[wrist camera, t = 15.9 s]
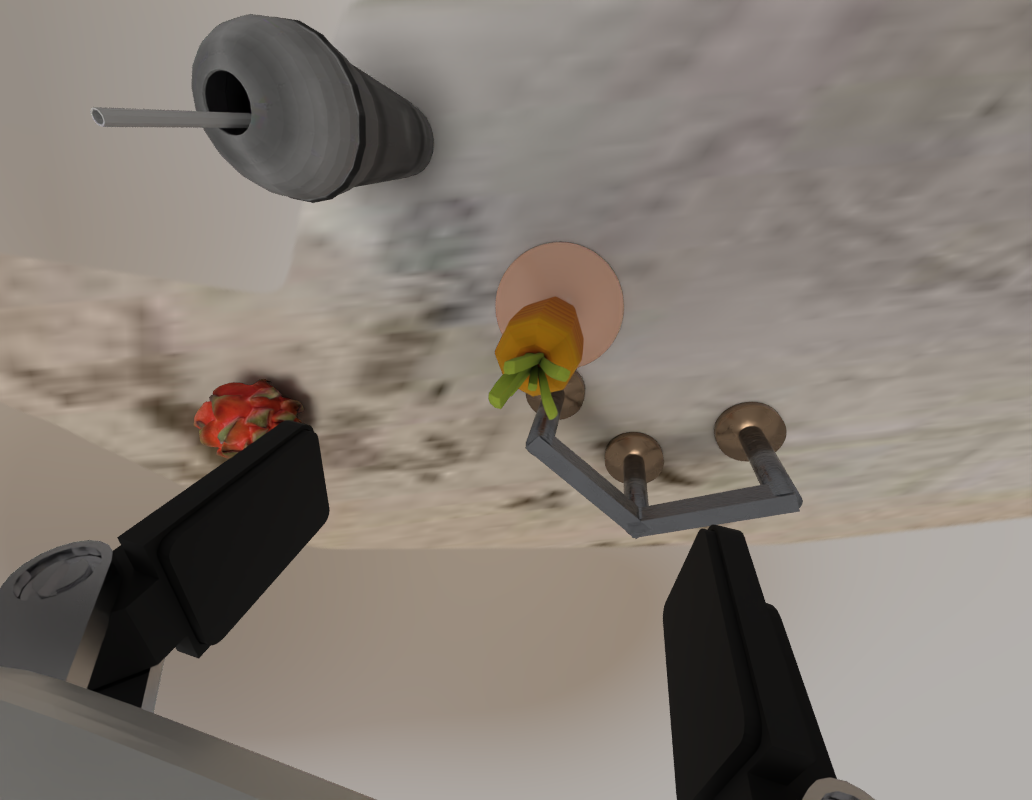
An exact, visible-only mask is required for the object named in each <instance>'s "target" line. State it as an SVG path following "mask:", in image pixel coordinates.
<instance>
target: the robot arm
mask: <svg viewBox="0 0 1032 800" xmlns="http://www.w3.org/2000/svg"><path fill="white" fill-rule="evenodd" d="M328 516H329V503H328V497H327V491H326V484H325V478H324V472H323V465H322V459H321V453H320V446H319V440H318V436H317V434H316V433H315V432H314V431H313V428H312V427H311V426H310V425H307V424H303V423H299V422H295V421H291V420H285V421H283V422H281V423H280V424H278V425H277V426H276V427H274V428H273V429H271V430H270V431H268V432H267V433H266V434H264V435H263V436H261V437H260V438H258V439H257V440H256V441H254V442H253V443H251V444H250V445H248V446H247V447H246V448H244V449H243V450H241V451H240V452H238V453H237V454H236V455H234V456H233V457H231V458H230V459H229V460H227V461H226V462H224V463H223V464H221V465H220V466H219V467H217V468H216V469H214V470H213V471H211V472H210V473H209V474H207V475H206V476H204V477H203V478H201V479H200V480H199V481H197V482H196V483H194V484H193V485H191V486H190V487H189V488H187V489H186V490H184V491H183V492H182V493H180V494H179V495H177V496H176V497H175V498H173V499H172V500H170V501H169V502H167V503H166V504H164V505H163V506H161V507H160V508H159V509H157V510H156V511H154V512H153V513H151V514H150V515H149V516H147V517H146V518H144V519H143V520H142V521H140V522H139V523H137V524H136V525H134V526H133V527H132V528H130V529H129V530H127V531H126V532H125V533H123V534H122V535H120V536H119V537H118V539H119V542H120V543H121V546H119V547H118V548H116V549H115V550H114V551H112V549H111V548H110V546H109V545H108V544H106V543H103V542H101V541H92V540H87V541H79V542H73V543H69V544H66V545H62V546H59V547H56V548H54V549H51V550H49V551H47V552H44V553H42V554H40V555H38V556H36V557H35V558H33V559H31V560H30V561H28V562H26V563H25V564H23V565H22V566H21V567H19V568H18V569H17V570H16V571H15V572H13V573H12V574H11V575H10V576H9V577H8V579H7V580H6V581H5V582H4V583H3V585H2V586H1V588H0V800H376V799H373V798H371V797H368V796H365V795H363V794H360V793H358V792H355V791H353V790H350V789H348V788H345V787H343V786H340V785H338V784H335V783H332V782H330V781H327V780H325V779H322V778H319V777H317V776H314V775H312V774H309V773H307V772H304V771H302V770H299V769H296V768H294V767H291V766H289V765H286V764H284V763H281V762H279V761H276V760H274V759H271V758H268V757H266V756H263V755H261V754H258V753H255V752H253V751H250V750H248V749H245V748H243V747H240V746H237V745H234V744H232V743H229V742H227V741H224V740H222V739H219V738H216V737H214V736H211V735H209V734H206V733H203V732H201V731H198V730H196V729H193V728H190V727H188V726H185V725H183V724H180V723H178V722H175V721H172V720H170V719H167V718H164V717H162V716H159V715H156V714H154V708H155V703H156V698H157V693H158V689H159V684H160V679H161V674H162V670H163V665H164V660H165V657H166V656H167V655H168V654H169V653H170V652H171V651H172V650H173V649H174V648H175V647H176V649H177V651H179V652H182V653H185V654H188V655H190V656H193V657H196V658H200V657H201V656H202V654H203V653H204V652H205V651H206V650H207V649H208V648H209V647H210V646H211V645H215V644H217V643H218V642H220V641H221V640H222V639H223V638H224V637H225V636H226V635H227V634H228V632H229V631H230V630H231V629H232V628H233V627H234V626H235V625H236V623H237V622H238V621H239V620H240V619H241V618H242V617H243V615H244V614H245V613H246V612H247V611H248V610H249V609H250V608H251V606H252V605H253V604H254V603H255V602H256V601H257V600H258V599H259V597H260V596H261V595H262V594H263V593H264V592H265V590H266V589H267V588H268V587H269V586H270V585H271V584H272V583H273V581H274V580H275V579H276V578H277V577H278V576H279V575H280V574H281V572H282V571H283V570H284V569H285V568H286V567H287V566H288V565H289V563H290V562H291V561H292V560H293V559H294V558H295V557H296V555H297V554H298V553H299V552H300V551H301V550H302V548H303V547H304V546H305V545H306V544H307V543H308V542H309V541H310V540H311V538H312V537H313V536H314V535H315V534H316V533H317V532H318V531H319V529H320V528H321V527H322V526H323V525H324V524H325V522H326V520H327V519H328ZM663 627H664V640H665V652H666V667H667V679H668V692H669V705H670V718H671V730H672V744H673V757H674V769H675V783H676V795H677V800H875V799H873V798H872V797H871V796H870V795H869V794H867V793H866V792H865V791H863V790H861V789H860V788H858V787H856V786H854V785H852V784H850V783H848V782H847V781H843V780H838V779H837V778H836V775H835V772H834V769H833V767H832V764H831V761H830V758H829V755H828V752H827V750H826V746H825V744H824V741H823V738H822V735H821V732H820V729H819V726H818V723H817V720H816V717H815V715H814V712H813V709H812V706H811V703H810V700H809V697H808V694H807V692H806V689H805V686H804V683H803V680H802V677H801V674H800V671H799V668H798V666H797V663H796V660H795V657H794V654H793V651H792V648H791V645H790V642H789V640H788V637H787V634H786V631H785V628H784V625H783V622H782V619H781V617H780V615H779V613H778V611H777V609H776V608H775V607H774V606H773V605H771V604H768V603H766V602H765V600H764V596H763V593H762V590H761V587H760V584H759V581H758V577H757V575H756V571H755V568H754V565H753V562H752V559H751V556H750V553H749V550H748V547H747V543H746V540H745V537H744V535H743V533H742V532H741V531H739V530H735V529H731V528H727V527H722V526H718V525H714V524H712V525H711V526H710V527H709V528H708V530H706V529H700V530H699V532H698V534H697V536H696V538H695V541H694V543H693V545H692V547H691V549H690V551H689V553H688V556H687V558H686V560H685V562H684V564H683V567H682V568H681V571H680V573H679V575H678V577H677V579H676V581H675V583H674V586H673V588H672V590H671V592H670V594H669V596H668V598H667V601H666V603H665V606H664V611H663Z"/></svg>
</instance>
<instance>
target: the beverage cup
mask: <svg viewBox="0 0 1032 800" xmlns="http://www.w3.org/2000/svg"><path fill="white" fill-rule="evenodd" d="M192 92H193V97H194V103H195V108H196V111H176V110H149V109H124V108H96V107H93V108H92V109H91V111H90V112H91V115H92V118H93V120H94V121H95V122H96V123H97V124H98V125H99V126H102V127H202V128H204V131H205V132H206V134H207V135H208V137H209V138H210V140H211V141H212V143H213V144H214V146H215V148H216V149H217V150H218V152H219V153H220V154H221V156H222V157H223V158H224V159H225V160H226V161H227V162H229V163H230V164H231V165H232V166H233V167H234V168H235V169H236V170H237V171H238V172H239V173H240V174H241V175H243V176H244V177H245V178H247V179H249V180H250V181H252V182H254V183H256V184H258V185H259V186H261V187H263V188H265V189H266V190H268V191H270V192H272V193H275V194H279V195H284V196H288V197H290V198H293V199H297V200H302V201H307V202H312V203H314V202H320V201H325V200H330V199H333V198H334V197H336V196H337V195H339V194H342V193H344V192H346V191H348V190H350V189H352V188H353V187H357V186H362V185H368V184H374V183H379V182H385V181H390V180H396V179H401V178H406V177H409V176H412V175H416V174H418V173H419V172H421V171H422V170H424V169H425V167H426V166H427V165H428V163H429V162H430V159H431V156H432V153H433V141H434V140H433V135H432V130H431V127H430V125H429V123H428V121H427V119H426V117H425V116H424V115H423V114H422V112H421V111H420V110H419V109H418V108H416V107H414V106H413V105H412V104H411V103H410V102H409V101H407V100H406V99H404V98H403V97H401V96H400V95H398V94H397V93H395V92H394V91H392V90H390V89H389V88H387V87H386V86H384V85H383V84H381V83H380V82H378V81H377V80H375V79H373V78H372V77H370V76H369V75H367V74H366V73H364V72H363V71H361V70H360V69H358V68H356V67H355V66H353V65H352V64H351V63H350V62H349V61H348V60H347V59H346V58H345V57H344V56H343V55H342V54H341V53H340V52H339V51H338V50H337V49H336V48H335V47H334V46H333V45H332V44H331V43H330V42H329V41H328V40H327V39H326V38H325V37H324V35H322V34H321V33H319V32H317V31H316V30H314V29H312V28H310V27H309V26H307V25H306V24H304V23H302V22H301V21H298V20H292V19H285V18H278V17H269V16H262V15H253V14H249V15H244V16H240V17H237V18H234V19H231V20H228V21H226V22H223V23H221V24H219V25H218V26H216V27H215V28H214V29H213V30H212V31H211V33H210V34H209V35H208V36H207V37H206V38H205V39H204V40H203V41H202V43H201V45H200V47H199V49H198V51H197V54H196V57H195V60H194V63H193V67H192Z"/></svg>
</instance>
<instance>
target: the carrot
mask: <svg viewBox="0 0 1032 800" xmlns="http://www.w3.org/2000/svg"><path fill="white" fill-rule="evenodd" d="M583 345H584V337H583V334H582V330H581V327H580V324H579V320H578V317H577V313H576V310H575V307H574V306H573V305H571V304H569V303H567V302H566V301H564V300H562V299H560V298H558V297H551V298H548V299H545V300H542V301H538V302H535V303H532V304H529V305H527V306H524V307H523V308H522V309H521V310H520V311H518V312H517V313H516V314H515V315H514V316H513V317H512V319H511V320H510V321H509V323H508V325H507V327H506V329H505V331H504V333H503V335H502V337H501V339H500V341H499V344H498V346H497V348H496V350H495V355H496V358H497V360H498V363H499V366H500V368H501V371H502V374H503V375H502V376H501V378H500V379H499V380H498V381H497V382H496V384H495V385H494V387H493V388H492V390H491V391H490V392H489V401H490V404H492V405H493V406H494V407H495V408H499V409H501V408H502V407H503V406H504V404H505V403H506V401H507V400H508V399H509V397H510V396H512V395H513V394H514V393H515V392H516V391H517V390H518V389H520V390H522V391H523V392H525V393H527V394H529V395H531V396H538V395H541V398H542V404H543V407H544V409H545V412H546V414H547V416H548V418H549V420H552V419H554V418H555V417H556V416H557V415H558V412H557V409H556V406H555V404H554V401H553V399H552V396H551V392H555V391H560V390H563V389H564V388H565V387H566V385H567V384H568V382H569V380H570V379H571V377H572V375H573V374H574V372H575V370H576V369H577V367H578V366H579V364H580V362H581V360H582V355H583Z"/></svg>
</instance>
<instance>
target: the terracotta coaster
mask: <svg viewBox="0 0 1032 800" xmlns="http://www.w3.org/2000/svg"><path fill="white" fill-rule="evenodd" d="M551 297H558V298H560V299H562V300H564V301H566V302H567V303H569V304H571V305H573V306H574V307H575V310H576V313H577V317H578V320H579V324H580V327H581V330H582V334H583V337H584V345H583V355H582V360H581V362H580V364H579V366H578V367H581V366H584V365H586V364H588V363H590V362H592V361H594V360H595V359H597V358H598V357H600V356H601V355H602V354H603V353H604V352H605V351H606V350H607V349H608V348H609V347H610V346H611V344H612V343H613V341H614V340H615V338H616V336H617V334H618V332H619V330H620V327H621V323H622V319H623V310H624V303H623V294H622V289H621V286H620V283H619V281H618V278H617V276H616V275H615V273H614V271H613V270H612V268H611V267H610V266H609V264H608V263H607V262H606V261H605V260H604V259H603V258H602V257H601V256H599V255H598V254H597V253H595V252H594V251H592V250H590V249H588V248H586V247H584V246H581V245H578V244H574V243H569V242H551V243H546V244H542V245H539V246H536V247H534V248H532V249H530V250H528V251H527V252H525V253H524V254H522V255H521V256H519V257H518V258H517V259H516V260H515V261H514V262H513V263H512V264H511V265H510V266H509V268H508V269H507V270H506V272H505V274H504V275H503V277H502V279H501V282H500V284H499V287H498V290H497V295H496V317H497V321H498V325H499V328H500V331H501V333H502V335H503V333H504V331H505V329H506V327H507V325H508V323H509V321H510V320H511V319H512V317H513V316H514V315H515V314H516V313H517V312H518V311H520V310H521V309H522V308H523V307H524V306H527V305H529V304H532V303H535V302H538V301H542V300H545V299H548V298H551ZM578 367H577V368H578Z"/></svg>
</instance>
